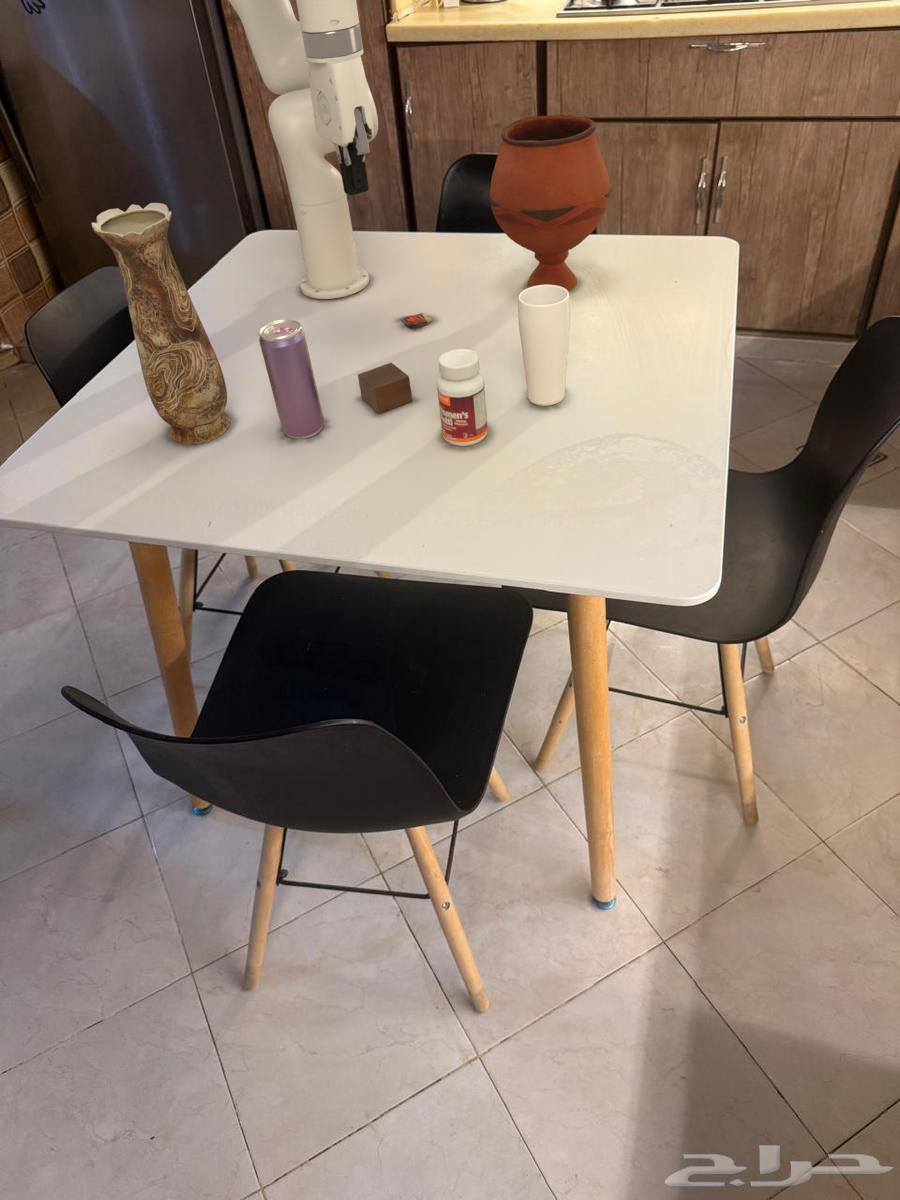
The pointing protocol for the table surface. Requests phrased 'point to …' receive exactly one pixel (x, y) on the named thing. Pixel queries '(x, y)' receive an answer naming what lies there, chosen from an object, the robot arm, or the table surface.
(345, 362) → the table surface
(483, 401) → the pill bottle
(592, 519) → the table surface
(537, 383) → the drinking glass
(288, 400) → the beverage can
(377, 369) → the walnut block
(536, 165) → the goblet
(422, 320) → the painted wall fragment
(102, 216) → the vase
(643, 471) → the table surface
